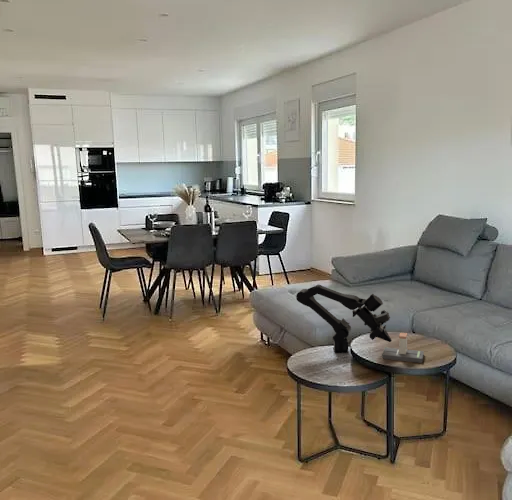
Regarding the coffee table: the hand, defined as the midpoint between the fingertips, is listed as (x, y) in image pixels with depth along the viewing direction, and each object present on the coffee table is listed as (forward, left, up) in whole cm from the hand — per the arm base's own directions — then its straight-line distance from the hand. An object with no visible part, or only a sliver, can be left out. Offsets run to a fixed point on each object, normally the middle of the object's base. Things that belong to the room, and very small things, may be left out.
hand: (390, 341), depth 237 cm
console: (+5, -2, -7) cm, 9 cm away
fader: (+5, -2, -5) cm, 7 cm away
